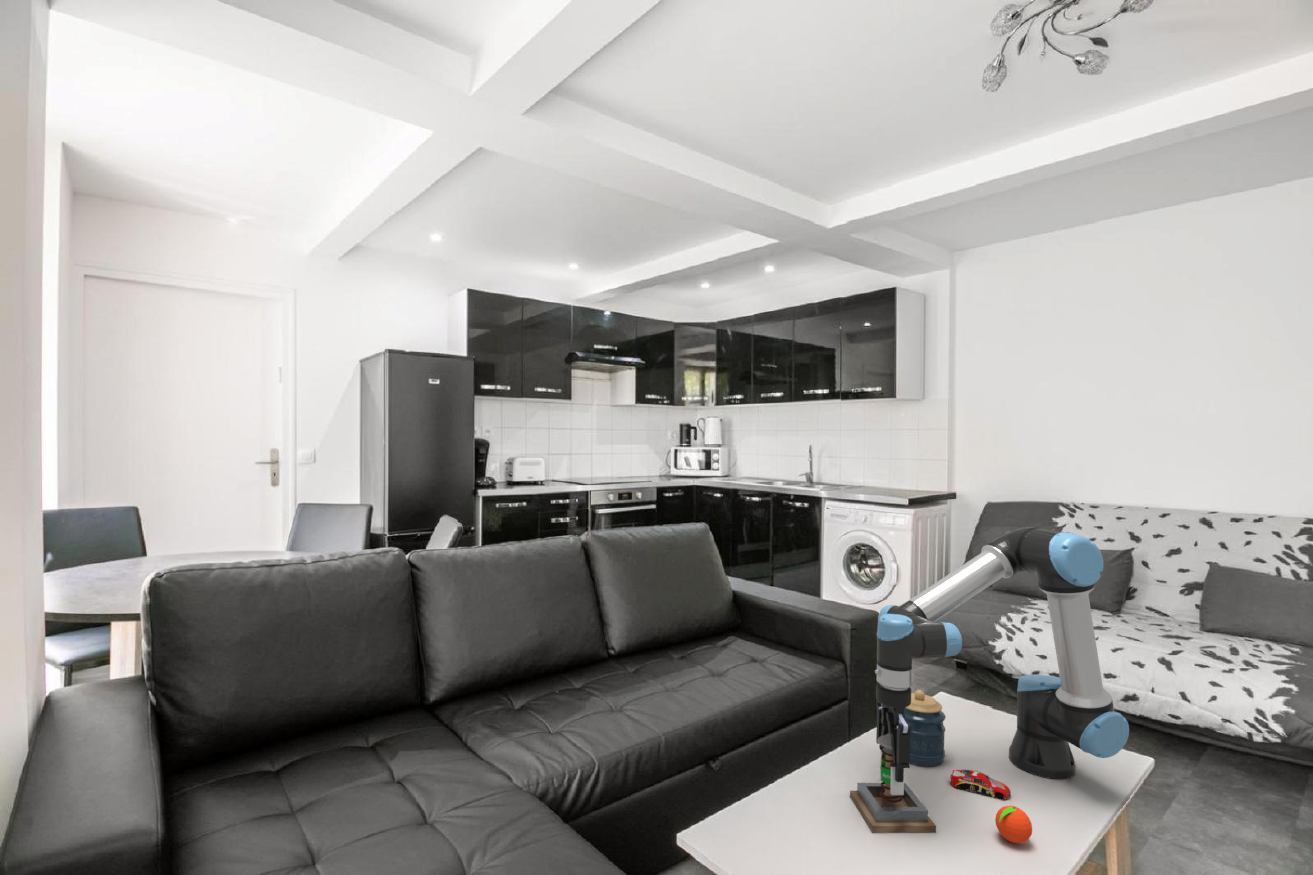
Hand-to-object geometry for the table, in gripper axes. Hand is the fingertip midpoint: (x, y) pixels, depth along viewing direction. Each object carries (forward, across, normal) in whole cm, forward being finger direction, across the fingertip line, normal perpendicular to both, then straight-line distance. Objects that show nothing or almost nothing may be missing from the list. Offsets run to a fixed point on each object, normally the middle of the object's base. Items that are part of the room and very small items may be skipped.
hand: (891, 786), depth 145 cm
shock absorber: (+3, 0, 0) cm, 3 cm away
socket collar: (+5, 0, 0) cm, 5 cm away
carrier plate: (+6, 0, 0) cm, 6 cm away
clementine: (+6, +10, +22) cm, 25 cm away
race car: (+7, -10, +26) cm, 29 cm away
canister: (+6, -27, +19) cm, 34 cm away
